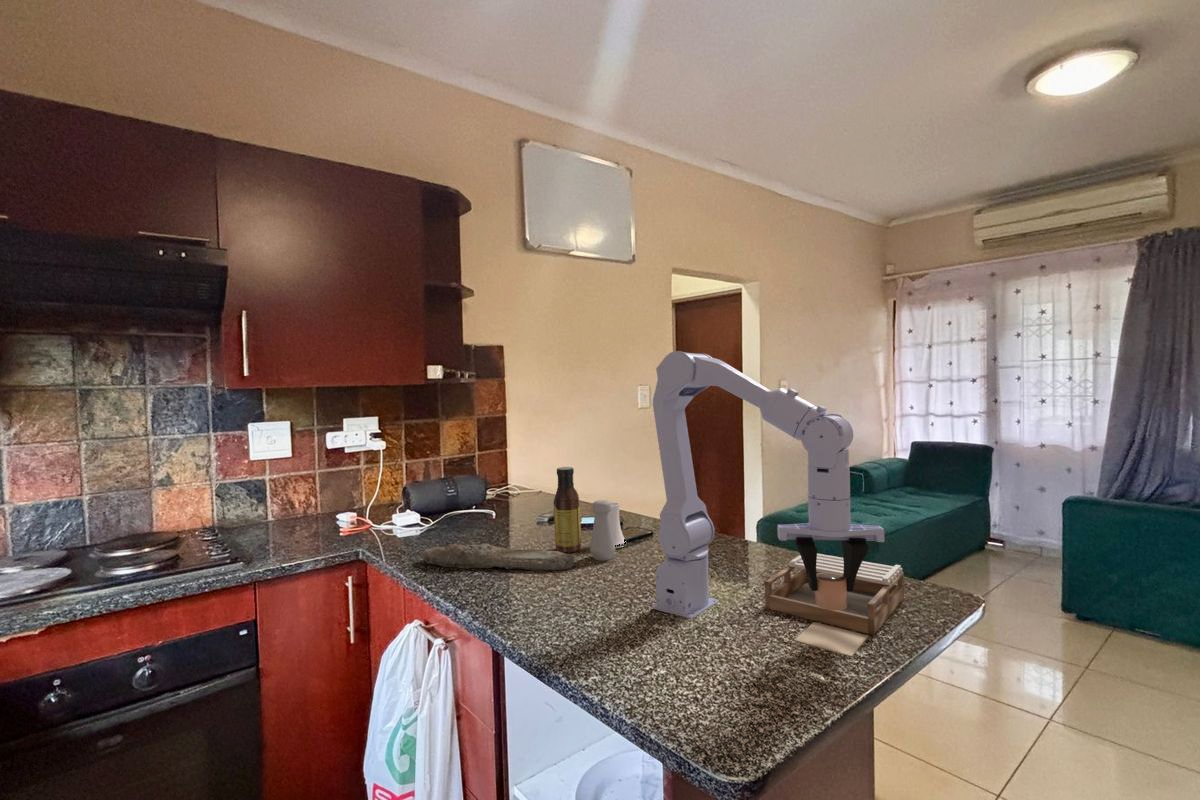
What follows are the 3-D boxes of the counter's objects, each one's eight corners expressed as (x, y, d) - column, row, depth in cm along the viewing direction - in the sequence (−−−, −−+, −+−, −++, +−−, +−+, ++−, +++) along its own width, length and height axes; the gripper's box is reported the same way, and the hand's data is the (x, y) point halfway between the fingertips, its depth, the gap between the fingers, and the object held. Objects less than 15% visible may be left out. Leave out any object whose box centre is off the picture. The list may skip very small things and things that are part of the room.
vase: (589, 545, 136) (588, 505, 136) (609, 539, 141) (608, 500, 141) (612, 550, 131) (611, 508, 131) (632, 543, 136) (631, 503, 136)
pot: (832, 612, 78) (832, 584, 78) (808, 602, 82) (808, 575, 82) (854, 606, 80) (853, 579, 80) (829, 597, 84) (829, 570, 84)
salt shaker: (601, 563, 121) (600, 504, 121) (584, 558, 125) (583, 501, 125) (620, 558, 125) (619, 500, 124) (603, 553, 129) (602, 497, 129)
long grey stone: (567, 582, 114) (578, 570, 124) (568, 556, 114) (579, 546, 124) (412, 567, 120) (434, 556, 130) (413, 542, 120) (435, 533, 130)
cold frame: (873, 637, 82) (873, 604, 82) (765, 610, 93) (764, 581, 93) (904, 599, 96) (903, 572, 96) (806, 580, 107) (806, 555, 107)
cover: (889, 585, 89) (888, 579, 89) (789, 566, 100) (789, 560, 100) (902, 571, 96) (902, 565, 96) (807, 554, 107) (807, 549, 107)
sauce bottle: (566, 545, 136) (564, 465, 136) (586, 548, 133) (584, 466, 133) (549, 551, 131) (547, 468, 131) (569, 555, 127) (567, 470, 127)
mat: (851, 659, 75) (851, 655, 75) (794, 643, 81) (794, 639, 81) (868, 639, 81) (868, 635, 81) (813, 625, 87) (813, 621, 87)
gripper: (871, 492, 84) (873, 581, 84) (773, 491, 86) (775, 578, 86) (889, 501, 77) (891, 598, 77) (781, 500, 79) (783, 594, 79)
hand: (830, 588), depth 81 cm, fingers closed on pot, 4 cm apart
